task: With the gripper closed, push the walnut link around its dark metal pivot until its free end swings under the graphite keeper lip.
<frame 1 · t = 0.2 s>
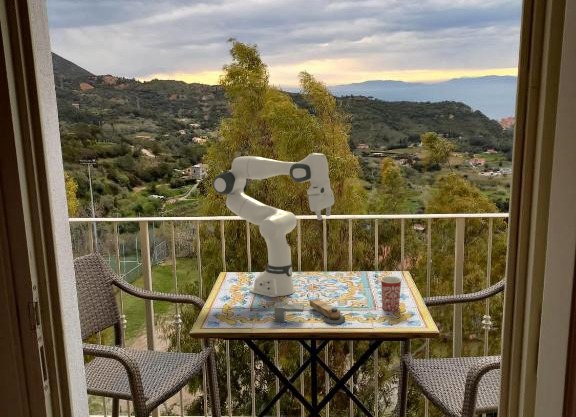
hand: (324, 217, 244), 39 cm above the table, tool pointing down, fingers open, 8 cm apart
mug: (389, 307, 237), on the table
pivot base: (334, 320, 224), on the table
walnut link: (325, 307, 230), point 3 cm above the table, hinge at 0.0°
keeper: (289, 319, 226), on the table
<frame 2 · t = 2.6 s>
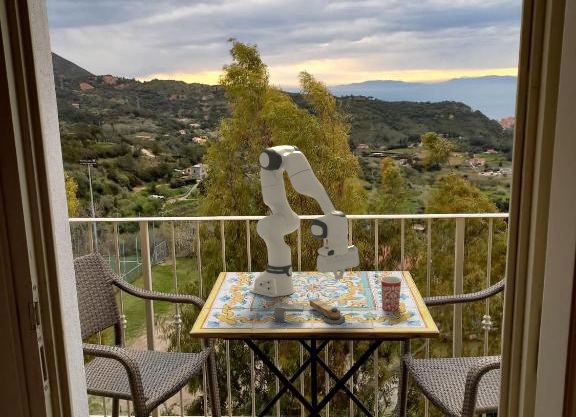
hand: (338, 279, 233), 14 cm above the table, tool pointing down, fingers closed
nothing on the table moved.
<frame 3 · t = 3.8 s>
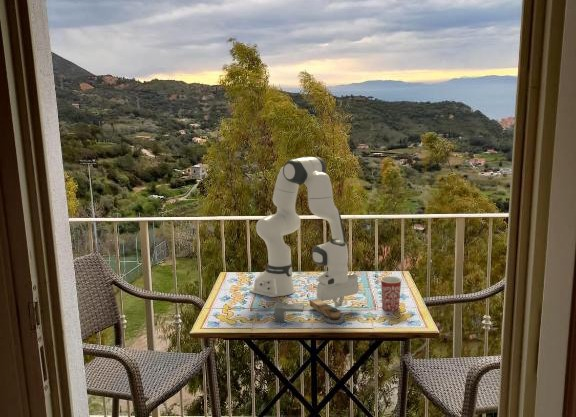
hand: (338, 306, 235), 2 cm above the table, tool pointing down, fingers closed
nothing on the table moved.
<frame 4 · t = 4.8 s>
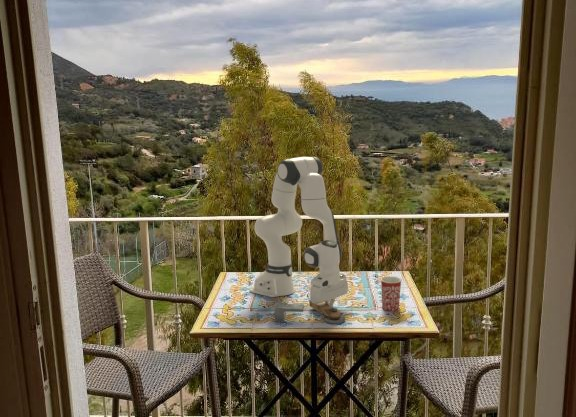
hand: (329, 308, 233), 2 cm above the table, tool pointing down, fingers closed
walnut link: (325, 307, 229), point 3 cm above the table, hinge at 0.5°, touching gripper
everything else where it was.
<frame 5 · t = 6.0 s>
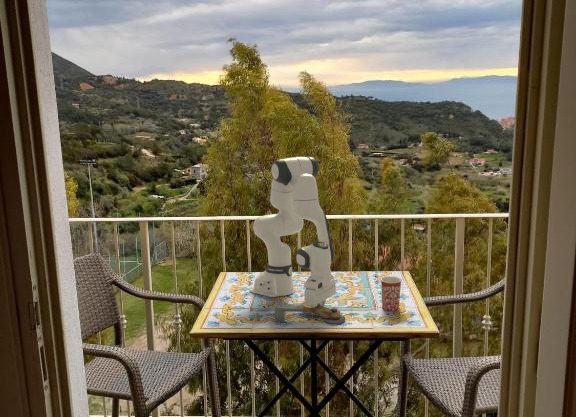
hand: (321, 310, 232), 2 cm above the table, tool pointing down, fingers closed
walnut link: (319, 309, 227), point 3 cm above the table, hinge at 25.2°, touching gripper
everything else where it was.
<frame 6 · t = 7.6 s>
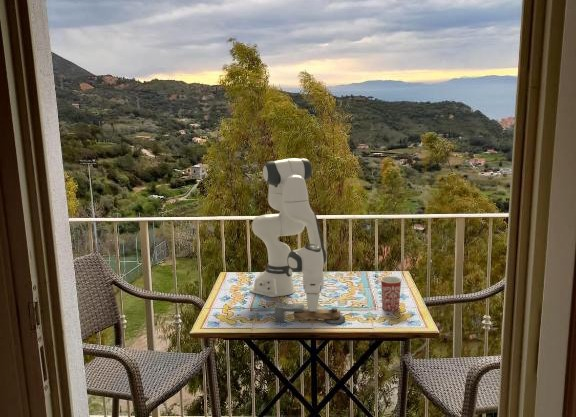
hand: (313, 313, 228), 1 cm above the table, tool pointing down, fingers closed
walnut link: (317, 313, 224), point 3 cm above the table, hinge at 57.2°, touching gripper
everything else where it was.
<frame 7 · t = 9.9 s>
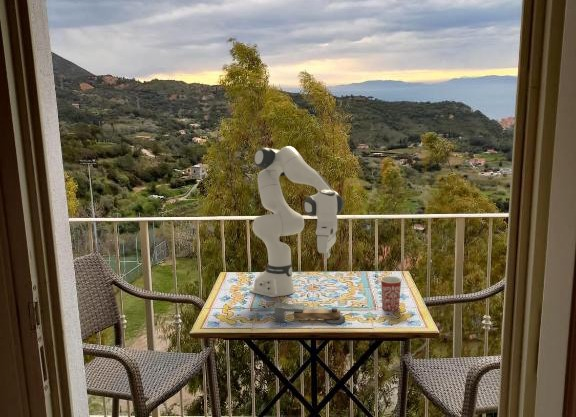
hand: (327, 257, 234), 23 cm above the table, tool pointing down, fingers closed
walnut link: (317, 313, 224), point 3 cm above the table, hinge at 57.1°
everything else where it was.
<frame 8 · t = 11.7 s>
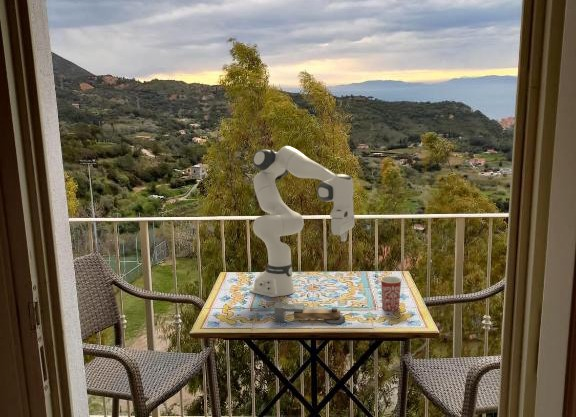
hand: (343, 240, 240), 29 cm above the table, tool pointing down, fingers closed
nothing on the table moved.
at the end: walnut link at +57° (first picture: +0°) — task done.
